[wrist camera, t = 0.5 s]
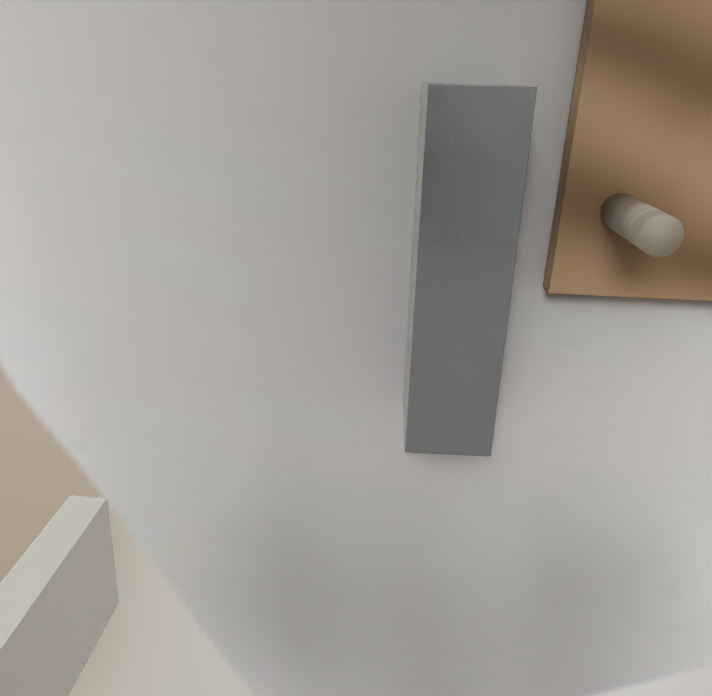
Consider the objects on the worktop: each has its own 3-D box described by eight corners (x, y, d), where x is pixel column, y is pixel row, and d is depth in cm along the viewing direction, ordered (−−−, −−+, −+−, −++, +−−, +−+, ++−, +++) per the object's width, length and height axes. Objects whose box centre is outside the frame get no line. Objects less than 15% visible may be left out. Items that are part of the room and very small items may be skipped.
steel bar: (422, 83, 28) (428, 84, 24) (513, 85, 28) (536, 87, 23) (403, 402, 34) (405, 452, 30) (477, 405, 34) (490, 456, 30)
